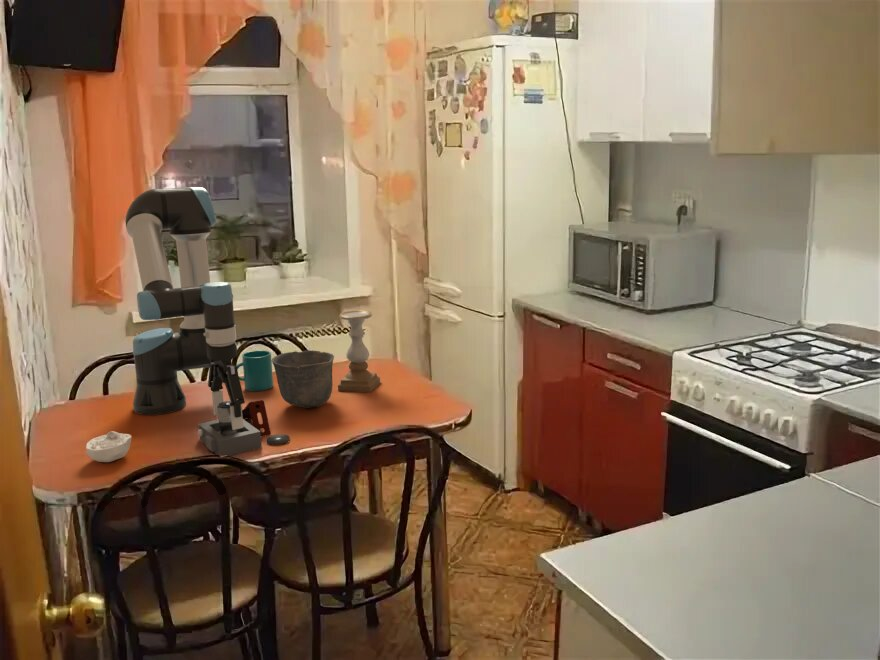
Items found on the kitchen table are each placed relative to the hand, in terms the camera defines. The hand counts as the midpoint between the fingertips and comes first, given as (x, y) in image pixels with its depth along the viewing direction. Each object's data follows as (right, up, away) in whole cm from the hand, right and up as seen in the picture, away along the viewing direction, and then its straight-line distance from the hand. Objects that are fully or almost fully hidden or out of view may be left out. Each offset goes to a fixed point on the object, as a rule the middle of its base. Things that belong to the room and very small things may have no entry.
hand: (228, 421), depth 218 cm
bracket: (+1, -4, +13) cm, 14 cm away
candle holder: (+30, +6, +48) cm, 57 cm away
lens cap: (+13, -5, +3) cm, 14 cm away
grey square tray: (0, -6, +1) cm, 6 cm away
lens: (0, -4, +1) cm, 4 cm away
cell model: (-28, -9, -7) cm, 30 cm away
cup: (-4, +5, +49) cm, 50 cm away
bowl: (+15, +1, +31) cm, 34 cm away
